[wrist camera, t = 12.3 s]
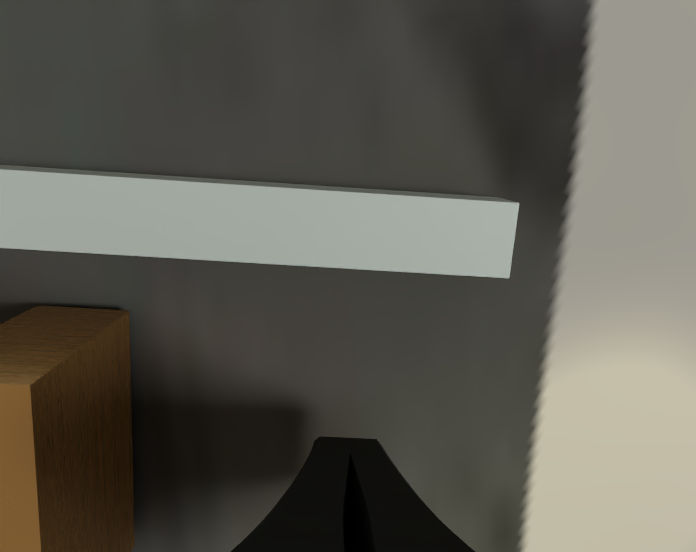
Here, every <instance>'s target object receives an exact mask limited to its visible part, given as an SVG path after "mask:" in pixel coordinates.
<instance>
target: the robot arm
mask: <svg viewBox="0 0 696 552" xmlns="http://www.w3.org/2000/svg"><path fill="white" fill-rule="evenodd" d="M231 552H475V551H474V550H473V549H471V548H470V547H469V546H468V545H467V544H466V543H464V542H463V541H462V540H461V539H460V538H459V537H458V536H456V535H455V534H454V533H453V532H452V531H451V530H450V529H449V528H448V527H447V526H445V525H444V524H443V523H442V522H441V521H440V520H439V519H438V518H437V517H436V516H435V514H434V513H433V512H432V511H431V510H430V509H429V508H428V507H427V506H426V505H425V503H424V502H423V501H422V500H421V499H420V498H419V496H418V495H417V494H416V493H415V491H414V490H413V489H412V488H411V486H410V485H409V484H408V483H407V481H406V480H405V479H404V477H403V476H402V475H401V473H400V472H399V471H398V469H397V468H396V466H395V465H394V464H393V462H392V461H391V459H390V458H389V456H388V455H387V453H386V452H385V450H384V449H383V447H382V446H381V444H380V443H379V442H378V441H377V439H361V438H340V437H319V438H318V439H316V440H315V441H314V445H313V447H312V450H311V452H310V454H309V456H308V458H307V460H306V462H305V464H304V465H303V467H302V469H301V470H300V472H299V473H298V475H297V477H296V478H295V480H294V481H293V483H292V484H291V486H290V487H289V489H288V490H287V491H286V493H285V494H284V495H283V496H282V498H281V499H280V500H279V502H278V503H277V504H276V505H275V507H274V508H273V509H272V510H271V512H270V513H269V514H268V515H267V516H266V517H265V519H264V520H263V521H262V522H261V523H260V524H259V525H258V526H257V527H256V528H255V529H254V530H253V531H252V532H251V533H250V534H249V535H248V536H247V537H246V538H245V539H244V540H243V541H242V542H241V543H240V544H239V545H238V546H236V547H235V548H234V549H233V550H232V551H231Z"/></svg>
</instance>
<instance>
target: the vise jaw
mask: <svg viewBox="0 0 696 552" xmlns="http://www.w3.org/2000/svg"><path fill="white" fill-rule="evenodd" d="M134 545H135V539H134V496H133V452H132V409H131V366H130V322H129V311H127V310H109V309H91V308H73V307H55V306H36V307H34V308H32V309H30V310H28V311H26V312H24V313H22V314H20V315H18V316H16V317H14V318H12V319H10V320H8V321H6V322H4V323H2V324H0V552H131V550H132V548H133V546H134Z"/></svg>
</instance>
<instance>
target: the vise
mask: <svg viewBox="0 0 696 552" xmlns="http://www.w3.org/2000/svg"><path fill="white" fill-rule="evenodd" d="M518 209H519V203H517V202H513V201H510V200H506V199H502V198H498V197H487V196H472V195H456V194H441V193H426V192H410V191H395V190H380V189H365V188H349V187H334V186H319V185H303V184H288V183H273V182H257V181H242V180H227V179H212V178H196V177H181V176H166V175H150V174H135V173H120V172H104V171H89V170H74V169H58V168H43V167H28V166H13V165H0V248H12V249H29V250H46V251H62V252H79V253H96V254H112V255H129V256H146V257H163V258H179V259H196V260H213V261H229V262H246V263H263V264H280V265H296V266H313V267H330V268H346V269H363V270H380V271H397V272H413V273H430V274H447V275H463V276H480V277H497V278H509V276H510V269H511V261H512V254H513V246H514V239H515V231H516V224H517V216H518Z"/></svg>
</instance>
